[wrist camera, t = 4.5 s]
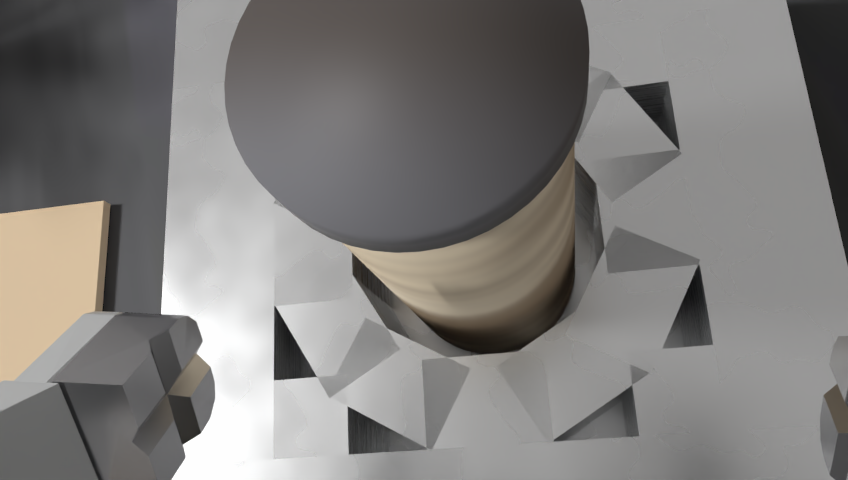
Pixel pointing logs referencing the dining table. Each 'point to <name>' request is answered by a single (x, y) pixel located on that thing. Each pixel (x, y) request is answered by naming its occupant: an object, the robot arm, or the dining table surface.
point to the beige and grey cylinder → (425, 147)
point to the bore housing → (591, 297)
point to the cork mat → (48, 277)
